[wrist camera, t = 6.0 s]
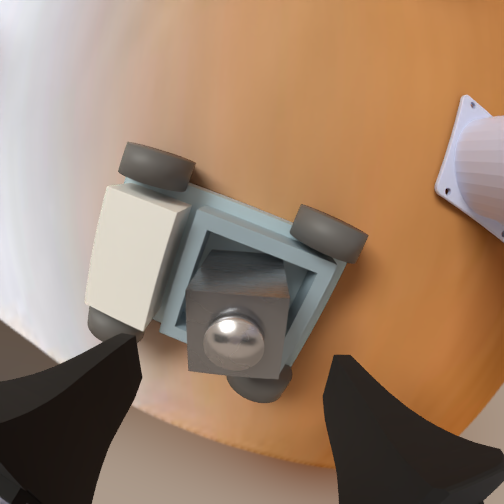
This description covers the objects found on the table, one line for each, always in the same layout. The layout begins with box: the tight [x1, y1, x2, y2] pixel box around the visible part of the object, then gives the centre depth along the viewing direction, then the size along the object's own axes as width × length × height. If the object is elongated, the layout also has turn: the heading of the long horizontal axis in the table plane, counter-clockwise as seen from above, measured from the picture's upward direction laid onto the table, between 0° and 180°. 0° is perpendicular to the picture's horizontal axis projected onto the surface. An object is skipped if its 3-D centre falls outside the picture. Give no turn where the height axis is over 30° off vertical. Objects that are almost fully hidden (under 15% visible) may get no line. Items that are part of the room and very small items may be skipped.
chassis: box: [85, 142, 368, 403], centre depth 17 cm, size 14×12×4 cm
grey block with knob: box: [185, 249, 290, 379], centre depth 14 cm, size 4×4×7 cm
